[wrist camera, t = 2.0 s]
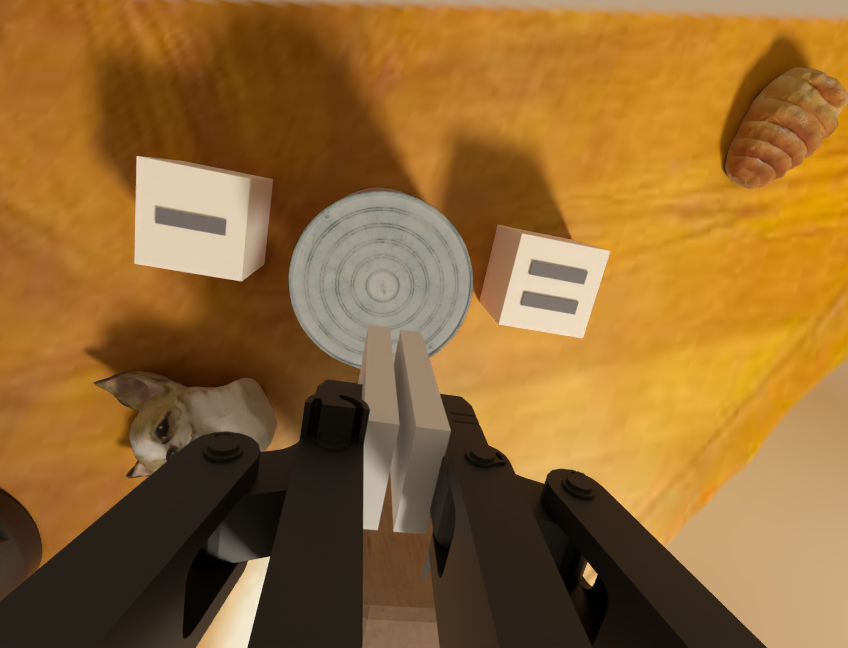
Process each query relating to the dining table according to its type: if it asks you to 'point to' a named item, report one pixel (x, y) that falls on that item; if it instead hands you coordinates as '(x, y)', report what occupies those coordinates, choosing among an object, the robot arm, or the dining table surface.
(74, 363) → the dining table surface
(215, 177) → the marked cube 2
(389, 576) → the block
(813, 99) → the pastry
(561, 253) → the marked cube 1
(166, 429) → the ceramic sculpture
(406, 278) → the canned food
